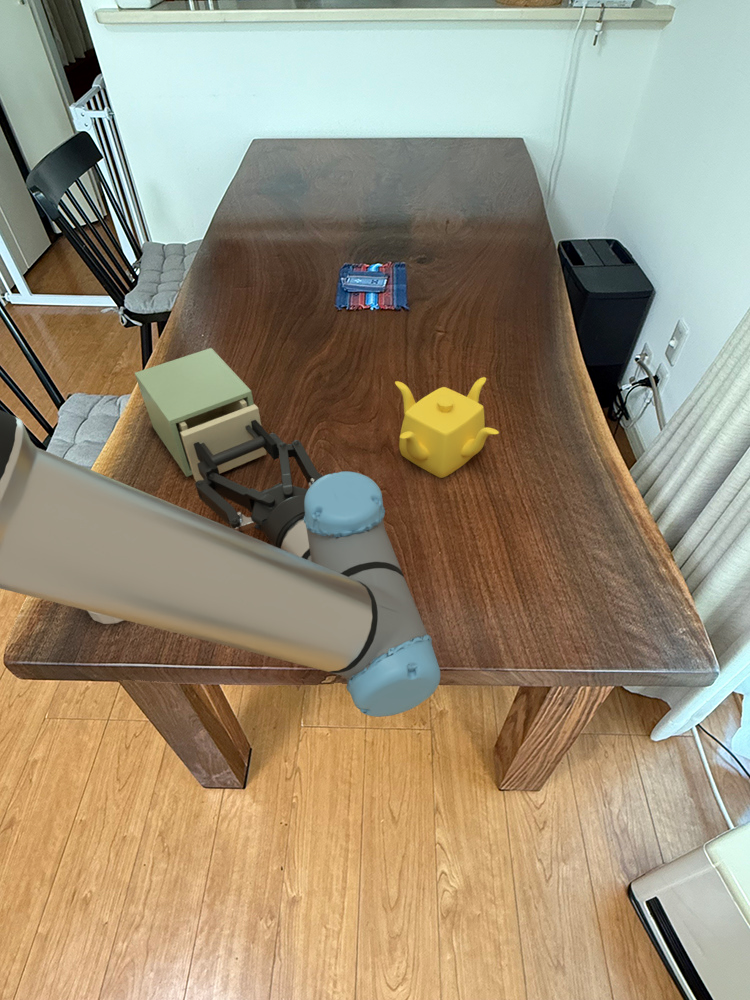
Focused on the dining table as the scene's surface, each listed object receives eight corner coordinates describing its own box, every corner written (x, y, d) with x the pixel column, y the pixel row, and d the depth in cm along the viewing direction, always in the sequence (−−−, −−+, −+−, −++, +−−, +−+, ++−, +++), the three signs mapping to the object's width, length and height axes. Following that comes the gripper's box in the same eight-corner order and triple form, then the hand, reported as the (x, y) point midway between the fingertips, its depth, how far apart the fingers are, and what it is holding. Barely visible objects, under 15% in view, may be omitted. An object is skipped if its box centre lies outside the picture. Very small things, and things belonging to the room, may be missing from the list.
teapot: (398, 484, 88) (400, 432, 82) (391, 425, 98) (392, 375, 92) (495, 479, 89) (505, 428, 82) (479, 421, 99) (486, 371, 92)
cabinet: (261, 446, 95) (251, 390, 87) (186, 477, 90) (168, 421, 82) (223, 401, 103) (211, 347, 96) (153, 427, 98) (134, 372, 91)
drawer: (282, 472, 89) (274, 425, 83) (210, 503, 85) (197, 456, 78) (230, 410, 100) (219, 365, 94) (164, 435, 96) (149, 389, 89)
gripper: (231, 596, 70) (163, 486, 84) (377, 522, 79) (293, 433, 92) (219, 555, 65) (148, 445, 78) (377, 480, 73) (288, 392, 87)
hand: (226, 438), depth 85 cm, fingers closed on drawer, 8 cm apart
